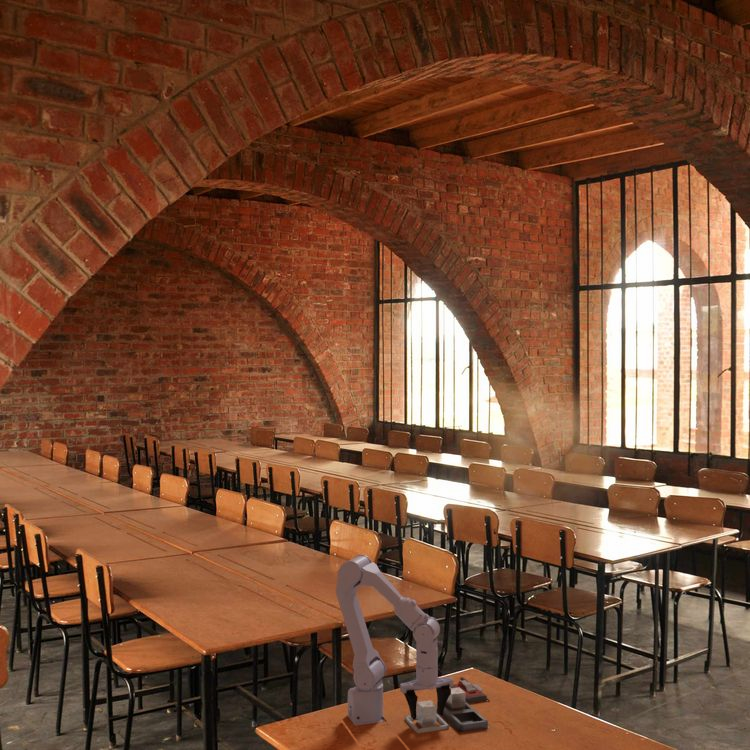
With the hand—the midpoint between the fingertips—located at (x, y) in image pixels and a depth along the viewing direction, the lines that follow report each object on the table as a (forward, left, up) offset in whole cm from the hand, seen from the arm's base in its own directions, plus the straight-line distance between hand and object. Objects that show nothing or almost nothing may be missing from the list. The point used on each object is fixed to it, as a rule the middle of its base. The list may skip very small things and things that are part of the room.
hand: (426, 716), depth 222 cm
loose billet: (0, 0, -3) cm, 3 cm away
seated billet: (+10, +5, -2) cm, 12 cm away
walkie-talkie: (+20, +18, -4) cm, 28 cm away
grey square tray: (0, 0, -3) cm, 3 cm away
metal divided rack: (+10, +1, -3) cm, 11 cm away
